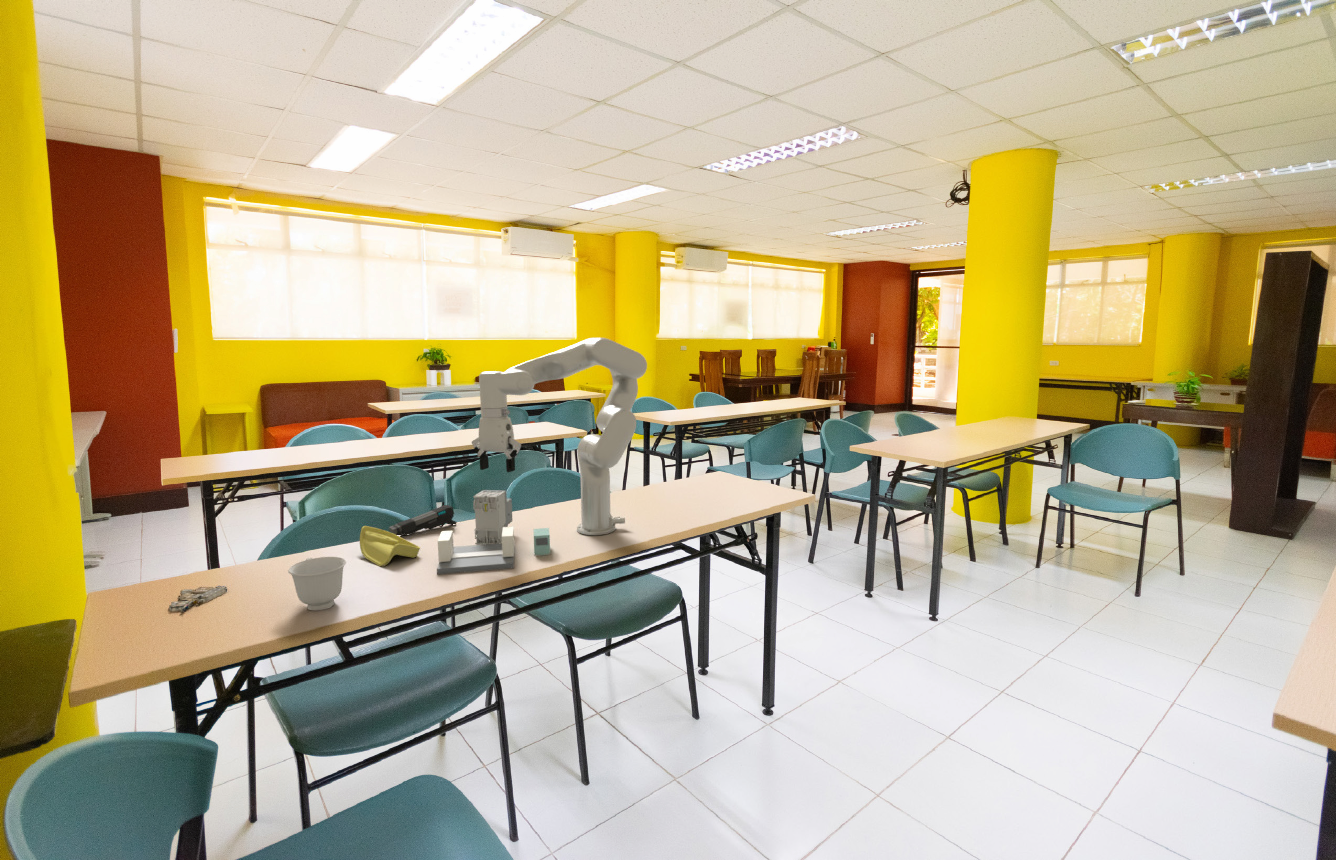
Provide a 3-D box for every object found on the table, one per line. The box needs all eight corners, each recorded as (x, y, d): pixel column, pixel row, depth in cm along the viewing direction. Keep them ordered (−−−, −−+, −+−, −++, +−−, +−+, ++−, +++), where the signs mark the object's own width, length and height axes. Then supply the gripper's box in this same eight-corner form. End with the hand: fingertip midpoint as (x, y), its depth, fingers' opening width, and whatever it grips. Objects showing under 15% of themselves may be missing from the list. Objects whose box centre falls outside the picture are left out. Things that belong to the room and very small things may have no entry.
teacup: (337, 587, 161) (334, 550, 160) (356, 606, 150) (353, 565, 149) (283, 601, 153) (279, 561, 152) (299, 621, 142) (295, 578, 141)
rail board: (514, 547, 192) (513, 522, 191) (513, 568, 175) (512, 540, 173) (445, 552, 188) (443, 526, 186) (437, 574, 170) (435, 546, 169)
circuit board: (169, 620, 145) (168, 610, 144) (169, 598, 157) (168, 589, 156) (232, 606, 152) (231, 597, 152) (228, 586, 164) (227, 578, 163)
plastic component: (423, 548, 184) (393, 542, 176) (413, 573, 183) (382, 568, 175) (388, 530, 196) (359, 524, 188) (379, 553, 195) (348, 548, 187)
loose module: (549, 547, 192) (548, 527, 191) (550, 554, 185) (549, 535, 184) (534, 548, 191) (533, 528, 190) (534, 556, 184) (533, 536, 183)
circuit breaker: (514, 530, 208) (512, 485, 206) (499, 544, 194) (496, 496, 192) (492, 529, 209) (490, 485, 207) (475, 543, 195) (473, 496, 193)
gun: (460, 524, 214) (449, 499, 210) (405, 556, 203) (392, 530, 199) (454, 521, 217) (443, 496, 214) (400, 553, 206) (387, 527, 202)
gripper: (526, 412, 187) (529, 469, 190) (479, 410, 194) (482, 465, 196) (510, 416, 180) (513, 475, 183) (462, 413, 187) (466, 470, 190)
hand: (497, 470), depth 190 cm, fingers open, 9 cm apart
